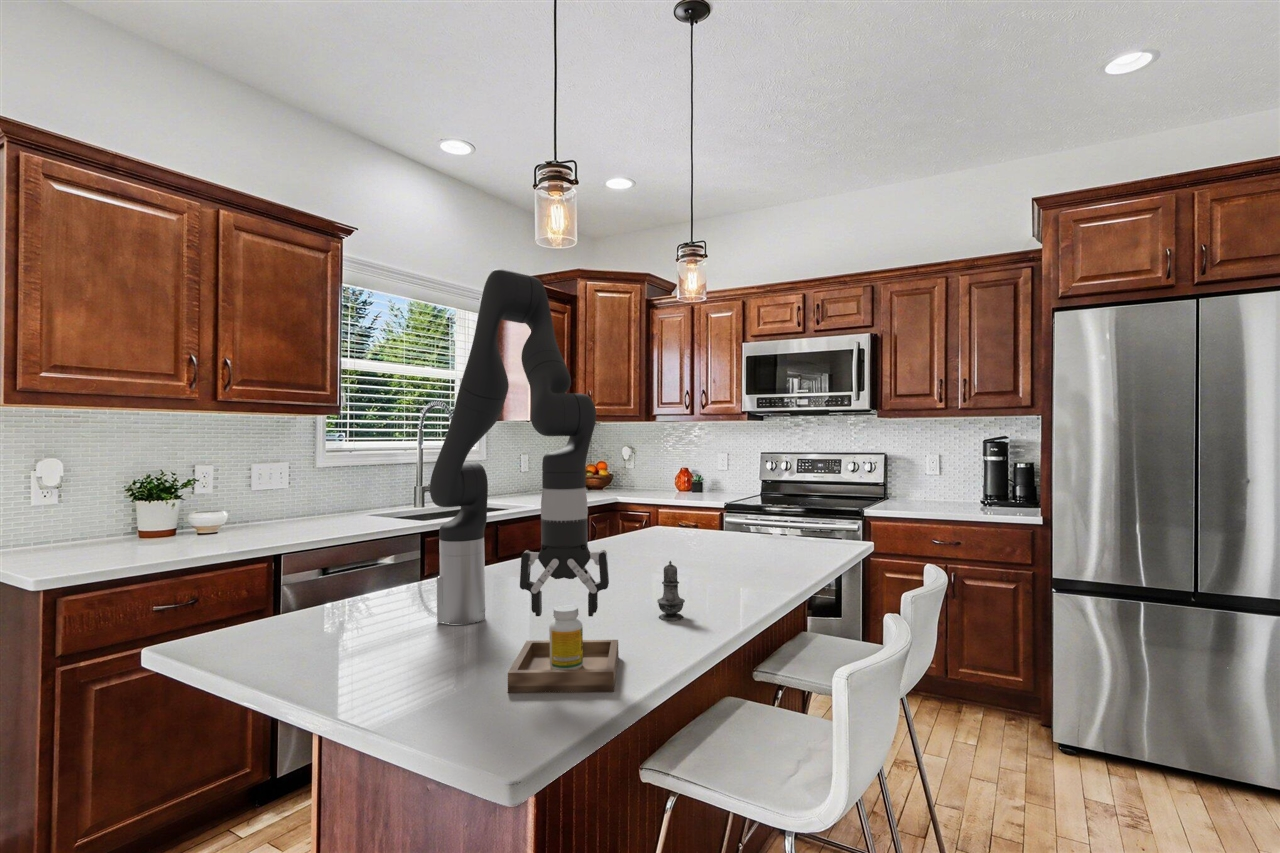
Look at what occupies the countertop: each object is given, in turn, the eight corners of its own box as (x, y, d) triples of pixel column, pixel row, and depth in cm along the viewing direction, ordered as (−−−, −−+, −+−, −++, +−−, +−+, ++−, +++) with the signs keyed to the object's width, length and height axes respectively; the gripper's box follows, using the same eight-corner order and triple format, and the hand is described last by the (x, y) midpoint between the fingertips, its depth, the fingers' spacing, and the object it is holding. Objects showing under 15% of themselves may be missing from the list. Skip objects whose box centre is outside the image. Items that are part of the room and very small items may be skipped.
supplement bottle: (545, 664, 112) (544, 606, 112) (576, 659, 114) (575, 602, 114) (556, 675, 107) (555, 613, 107) (588, 669, 110) (587, 609, 110)
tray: (507, 692, 103) (507, 672, 103) (526, 657, 119) (526, 640, 119) (613, 691, 103) (613, 671, 103) (618, 656, 119) (618, 639, 119)
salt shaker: (685, 621, 140) (684, 563, 141) (657, 621, 141) (656, 563, 141) (684, 613, 146) (683, 557, 146) (657, 614, 146) (656, 558, 147)
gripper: (516, 518, 107) (516, 622, 107) (606, 518, 107) (607, 621, 107) (524, 512, 115) (525, 609, 115) (609, 512, 114) (610, 609, 114)
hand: (564, 615), depth 111 cm, fingers open, 8 cm apart
